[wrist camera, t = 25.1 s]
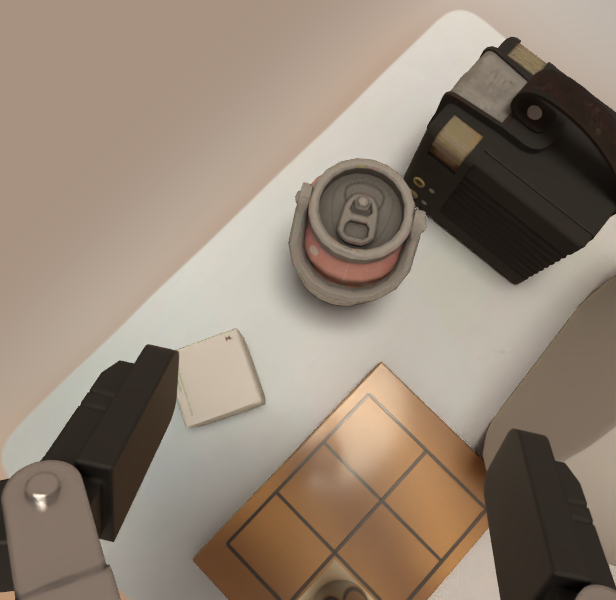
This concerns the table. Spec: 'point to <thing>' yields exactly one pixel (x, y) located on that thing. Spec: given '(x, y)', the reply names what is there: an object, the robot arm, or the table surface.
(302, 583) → the board
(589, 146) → the camera
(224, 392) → the small box
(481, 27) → the table surface
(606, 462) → the alarm clock
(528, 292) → the table surface
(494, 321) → the table surface
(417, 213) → the beverage can
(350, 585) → the ball
